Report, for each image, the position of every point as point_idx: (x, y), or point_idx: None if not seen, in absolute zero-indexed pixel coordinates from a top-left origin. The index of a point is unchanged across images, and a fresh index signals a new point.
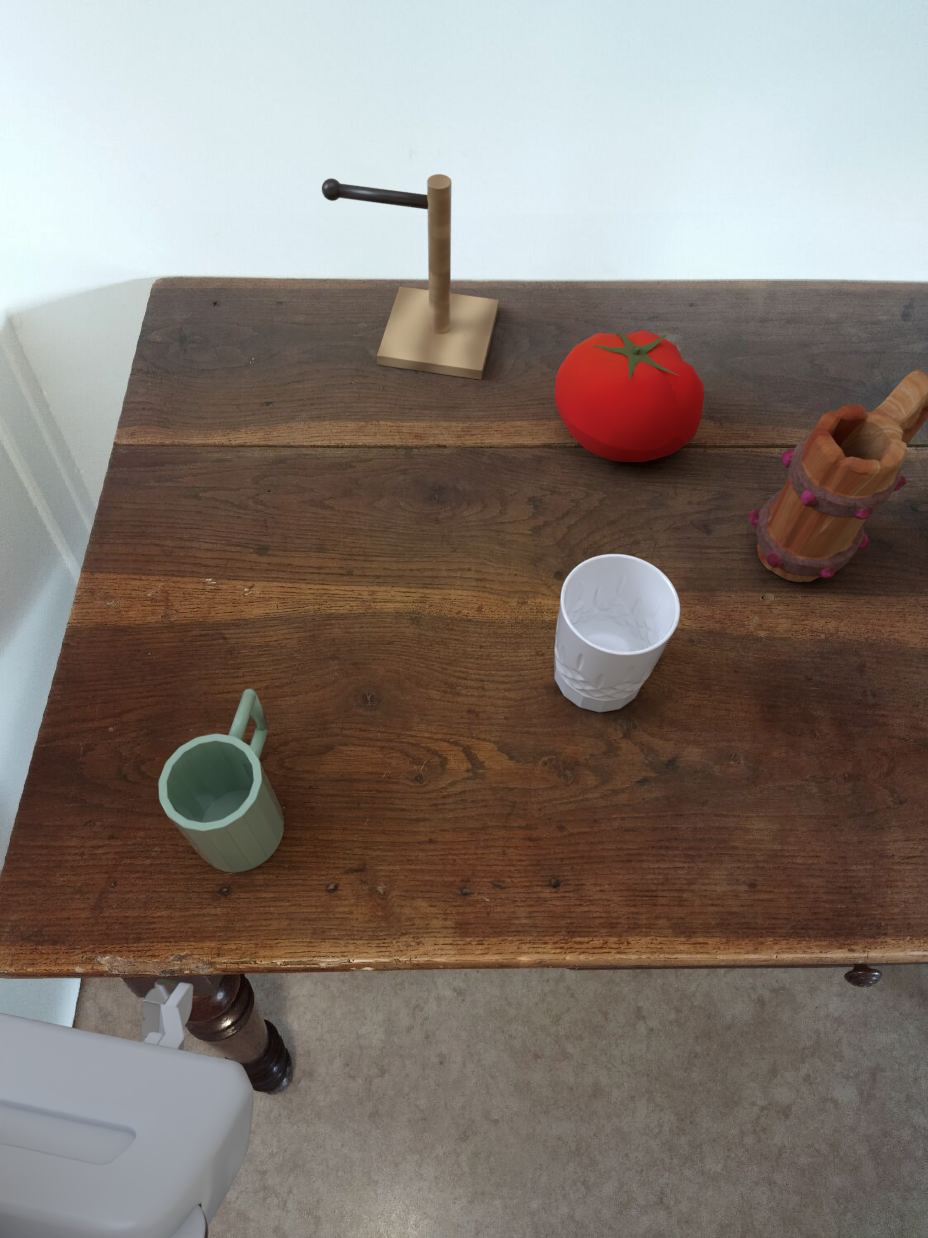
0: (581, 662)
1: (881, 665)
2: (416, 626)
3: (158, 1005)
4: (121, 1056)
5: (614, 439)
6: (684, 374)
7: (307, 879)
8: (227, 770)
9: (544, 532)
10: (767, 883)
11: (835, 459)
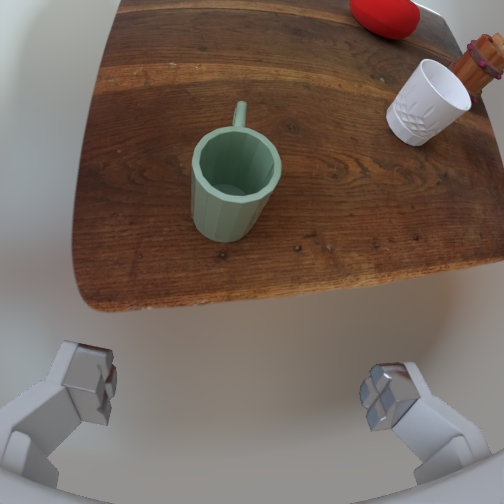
0: (429, 112)
1: (490, 143)
2: (308, 89)
3: (412, 400)
4: (496, 491)
5: (388, 22)
6: (415, 5)
7: (279, 244)
8: (223, 164)
9: (358, 56)
10: (484, 234)
11: (495, 51)
